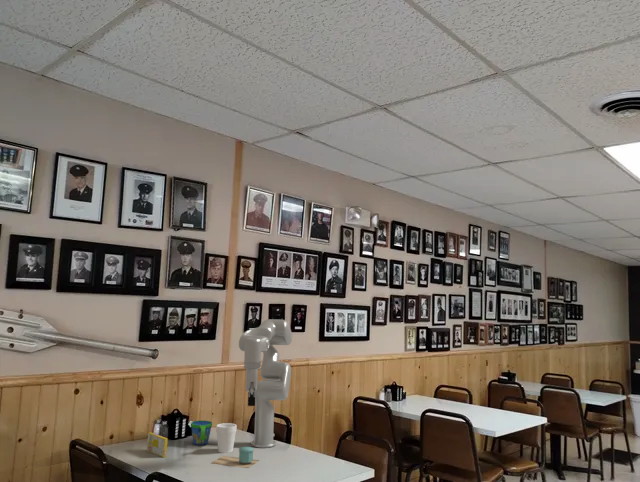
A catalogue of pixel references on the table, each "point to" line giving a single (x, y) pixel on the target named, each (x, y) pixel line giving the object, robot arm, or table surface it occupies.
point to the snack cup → (201, 432)
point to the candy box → (157, 444)
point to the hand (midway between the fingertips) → (251, 403)
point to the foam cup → (226, 437)
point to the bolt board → (233, 462)
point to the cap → (245, 454)
